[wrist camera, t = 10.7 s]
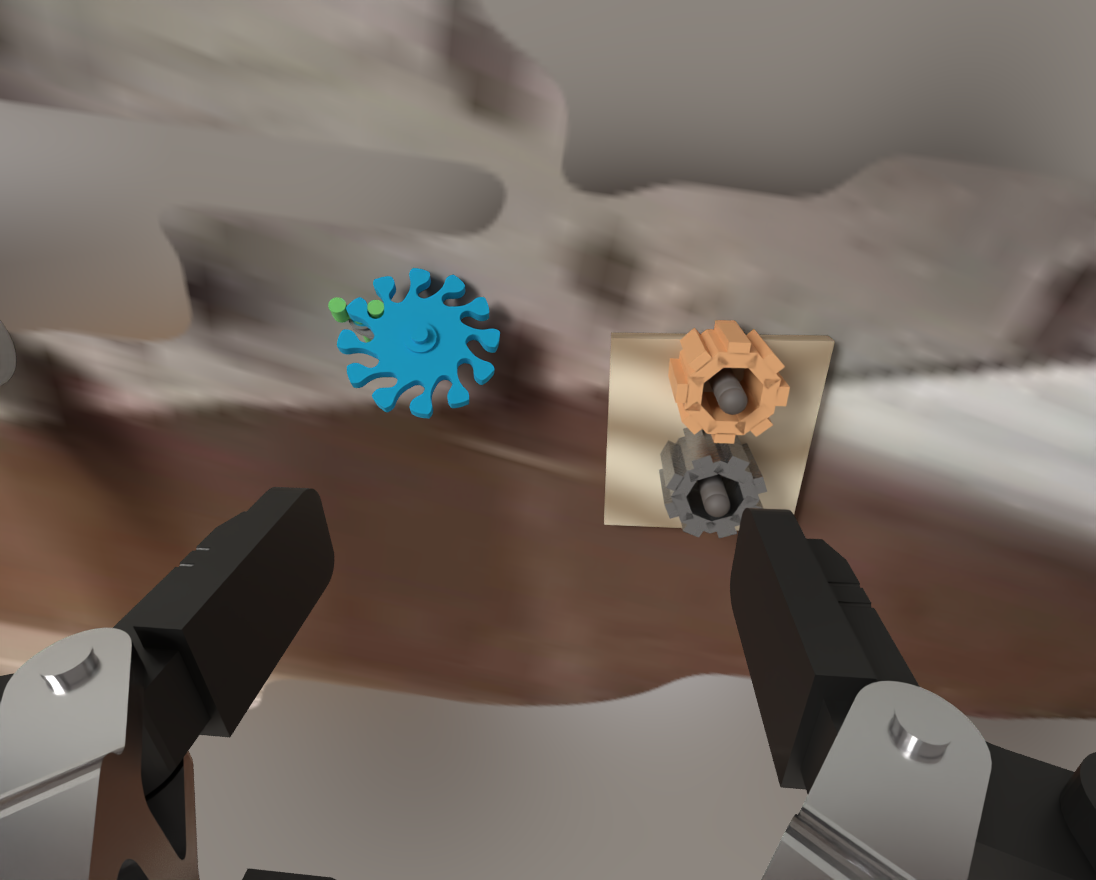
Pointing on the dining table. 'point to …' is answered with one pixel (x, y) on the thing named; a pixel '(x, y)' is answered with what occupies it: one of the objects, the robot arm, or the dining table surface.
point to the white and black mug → (6, 355)
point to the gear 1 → (759, 382)
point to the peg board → (653, 419)
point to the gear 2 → (700, 461)
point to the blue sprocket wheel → (415, 340)
